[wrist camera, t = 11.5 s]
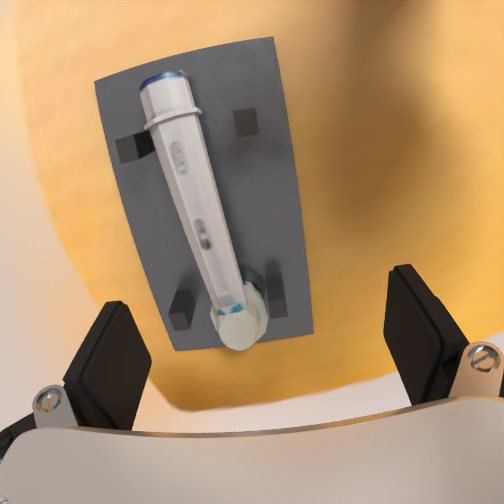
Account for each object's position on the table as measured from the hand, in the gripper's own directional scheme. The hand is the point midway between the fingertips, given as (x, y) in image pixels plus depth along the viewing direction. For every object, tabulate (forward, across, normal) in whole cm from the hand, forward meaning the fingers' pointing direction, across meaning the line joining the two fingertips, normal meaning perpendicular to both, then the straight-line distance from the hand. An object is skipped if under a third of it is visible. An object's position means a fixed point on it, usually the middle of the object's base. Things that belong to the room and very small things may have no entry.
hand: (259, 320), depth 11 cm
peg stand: (+20, +5, +3) cm, 20 cm away
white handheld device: (+19, +5, +2) cm, 20 cm away
